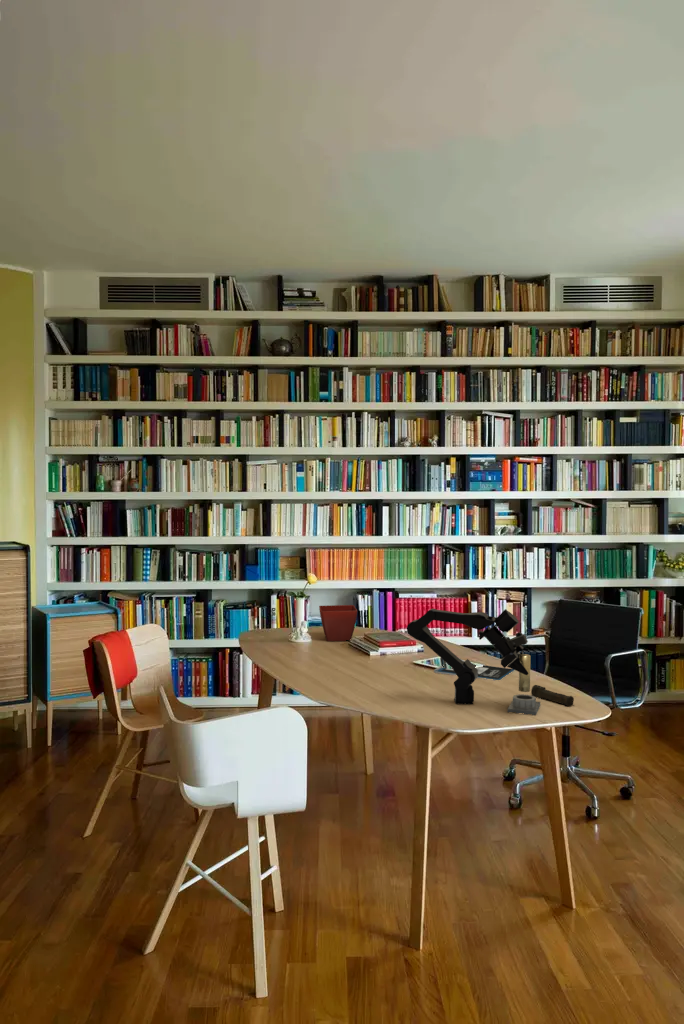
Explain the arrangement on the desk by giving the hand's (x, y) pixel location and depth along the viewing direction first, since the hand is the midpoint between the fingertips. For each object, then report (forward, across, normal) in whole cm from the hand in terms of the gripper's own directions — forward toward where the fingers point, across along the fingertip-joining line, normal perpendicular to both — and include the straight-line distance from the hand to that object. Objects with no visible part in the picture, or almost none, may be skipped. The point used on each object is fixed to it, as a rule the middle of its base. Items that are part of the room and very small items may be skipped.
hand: (528, 673), depth 281 cm
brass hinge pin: (+4, 0, +6) cm, 7 cm away
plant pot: (-69, +96, +90) cm, 149 cm away
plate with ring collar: (+8, 0, +10) cm, 13 cm away
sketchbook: (-11, +51, +31) cm, 60 cm away
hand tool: (+14, +15, +5) cm, 21 cm away
